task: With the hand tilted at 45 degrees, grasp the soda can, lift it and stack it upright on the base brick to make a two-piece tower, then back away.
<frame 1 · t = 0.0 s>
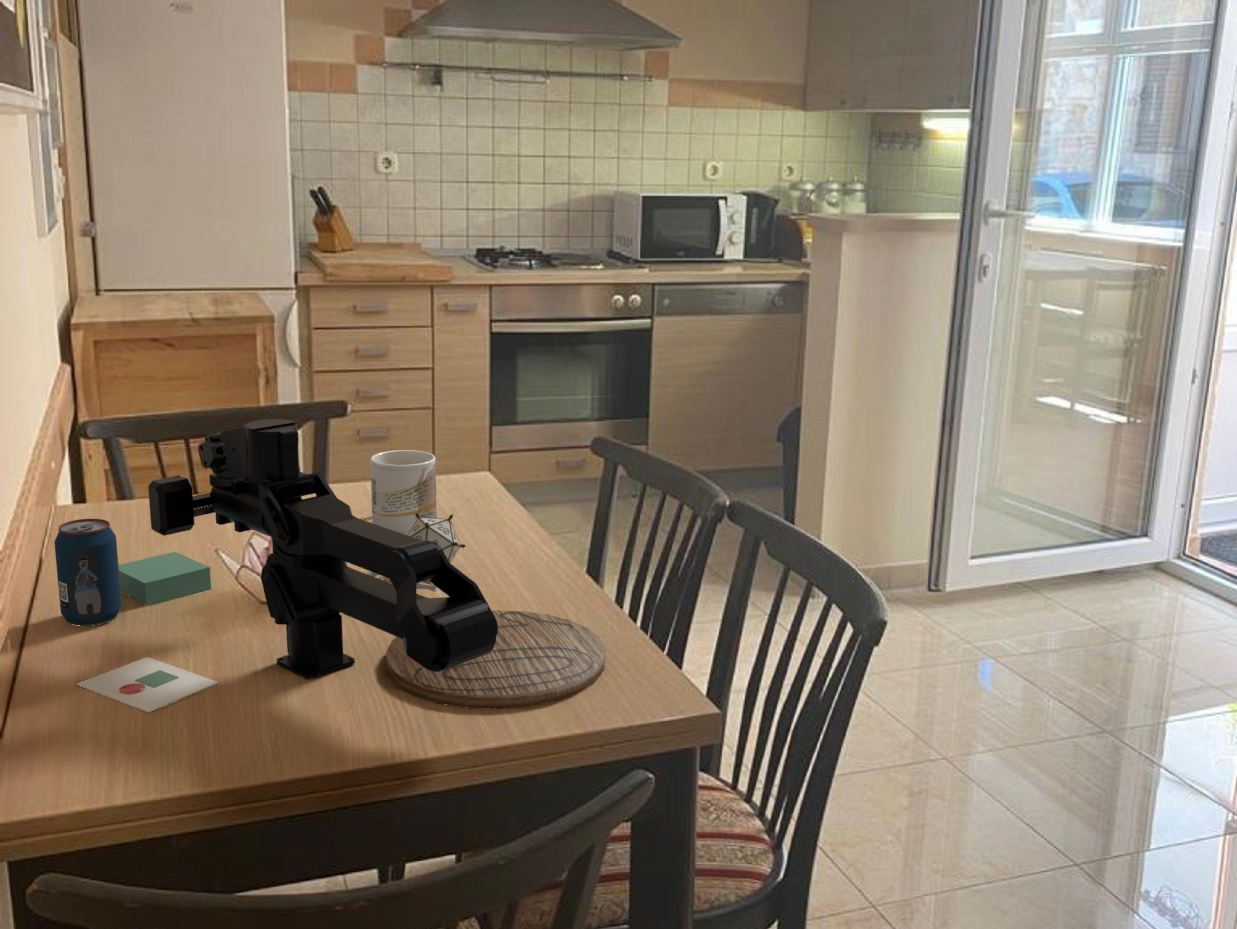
hand: (191, 481, 155), 17 cm above the table, tool horizontal, fingers open, 9 cm apart
mug: (405, 525, 195), on the table
soda can: (92, 619, 154), on the table
soldier figure: (389, 605, 162), on the table
instruction page: (148, 684, 136), on the table
game die: (432, 572, 174), on the table
base brick: (162, 588, 165), on the table
trivet: (496, 666, 144), on the table
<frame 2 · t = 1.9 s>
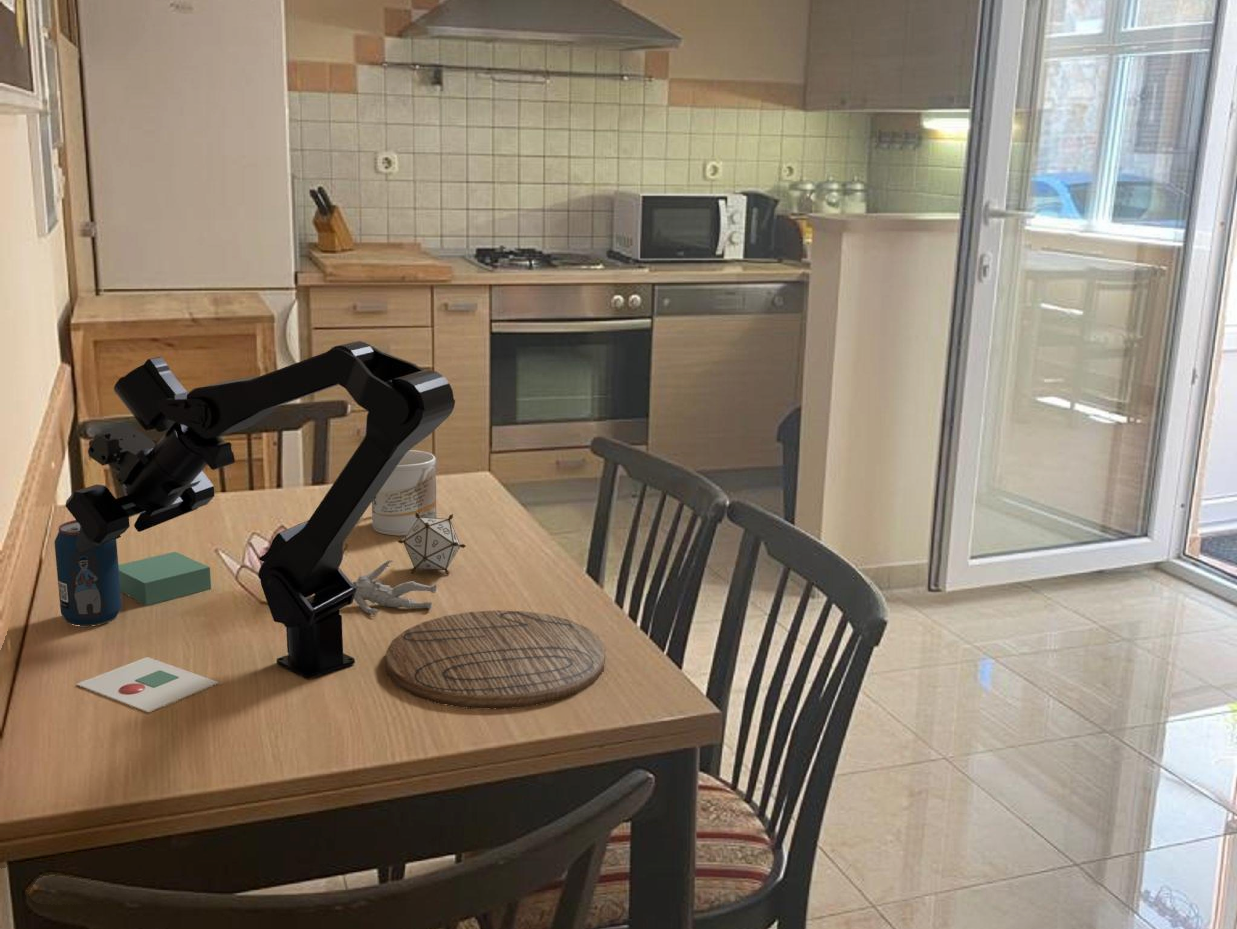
hand: (109, 538, 150), 11 cm above the table, tool tilted 45°, fingers open, 9 cm apart
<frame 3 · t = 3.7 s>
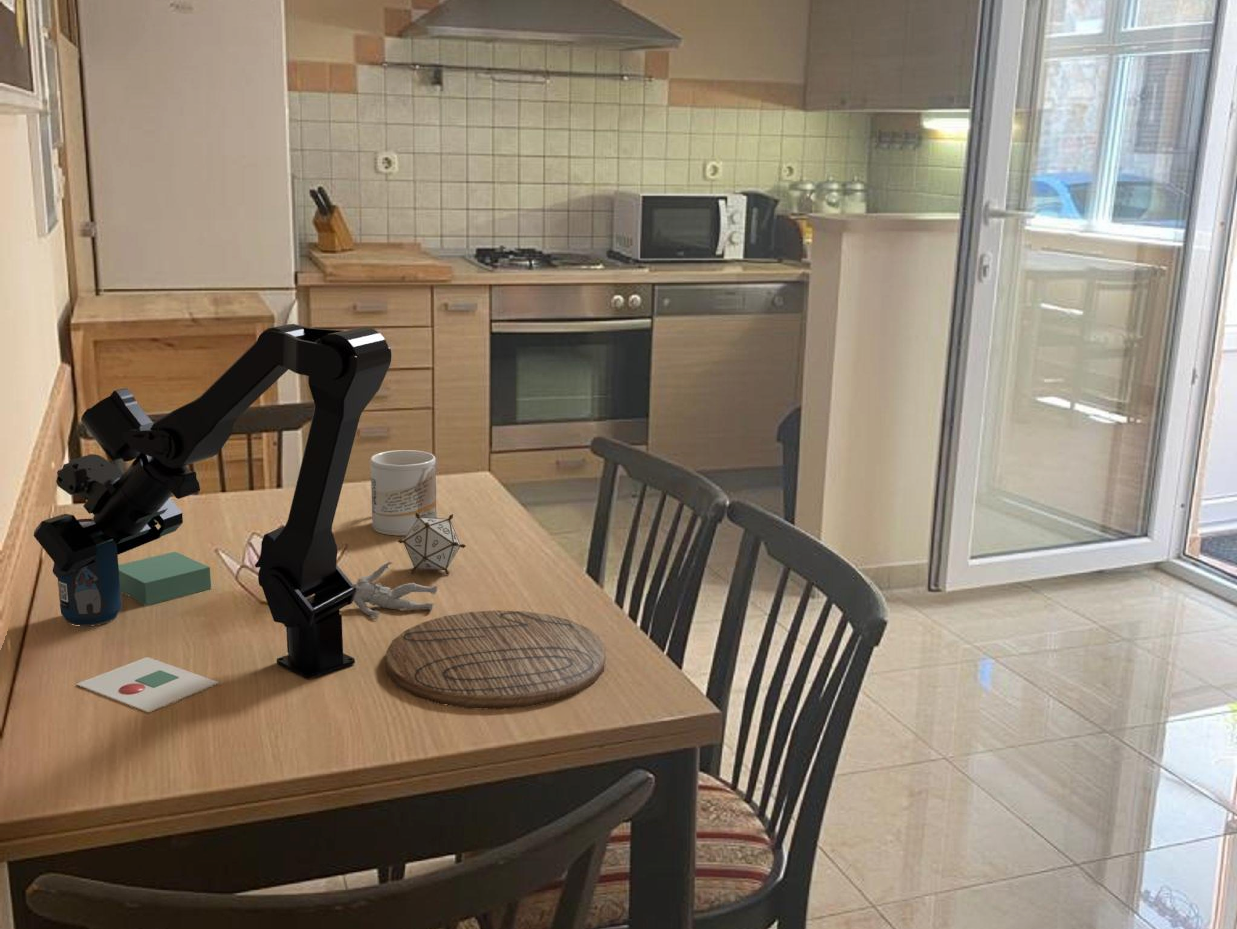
hand: (78, 565, 153), 7 cm above the table, tool tilted 45°, fingers closed on soda can, 7 cm apart
soda can: (92, 619, 154), on the table, touching gripper
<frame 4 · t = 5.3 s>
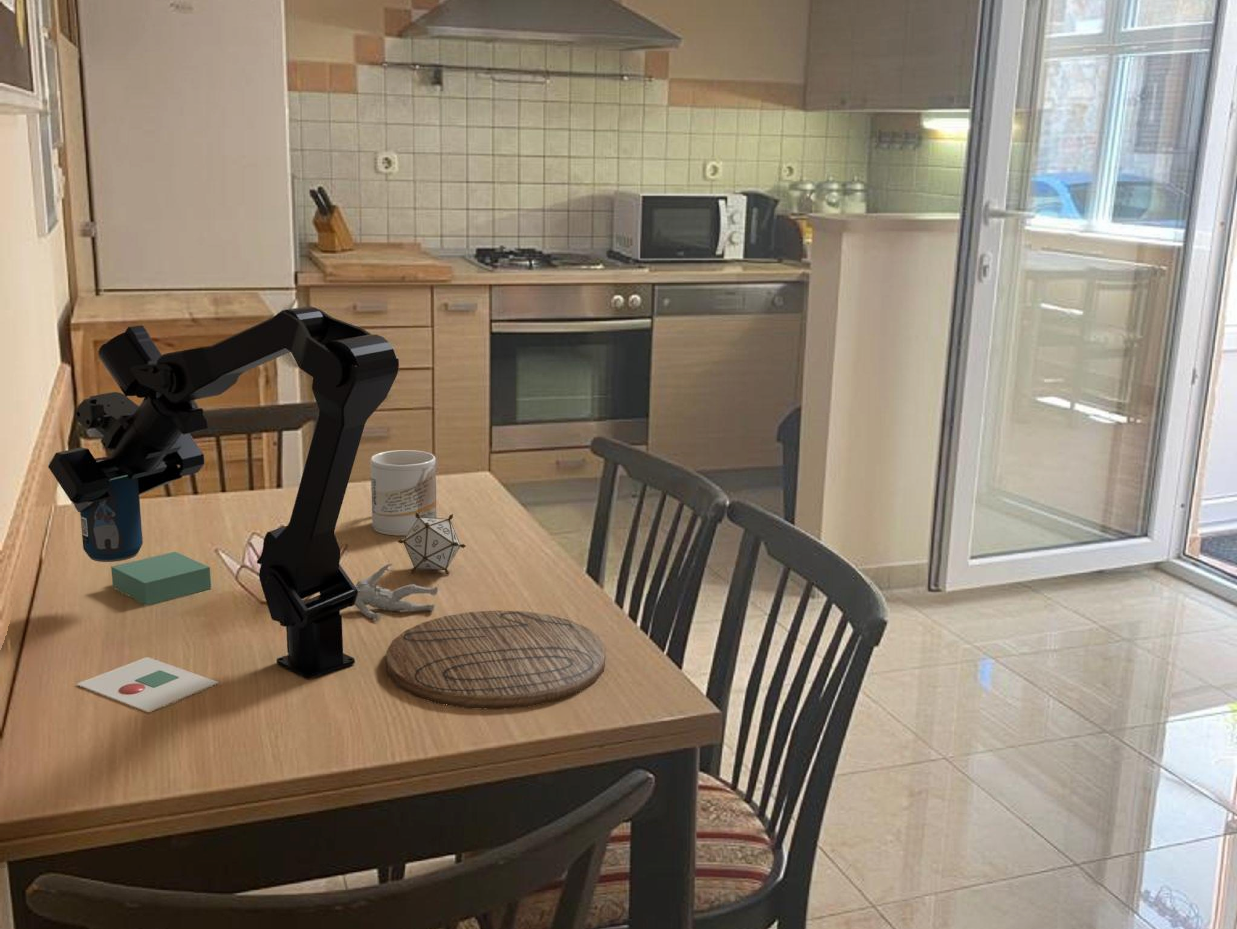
hand: (102, 502, 156), 13 cm above the table, tool tilted 45°, fingers closed on soda can, 7 cm apart
soda can: (114, 556, 157), point 7 cm above the table, touching gripper
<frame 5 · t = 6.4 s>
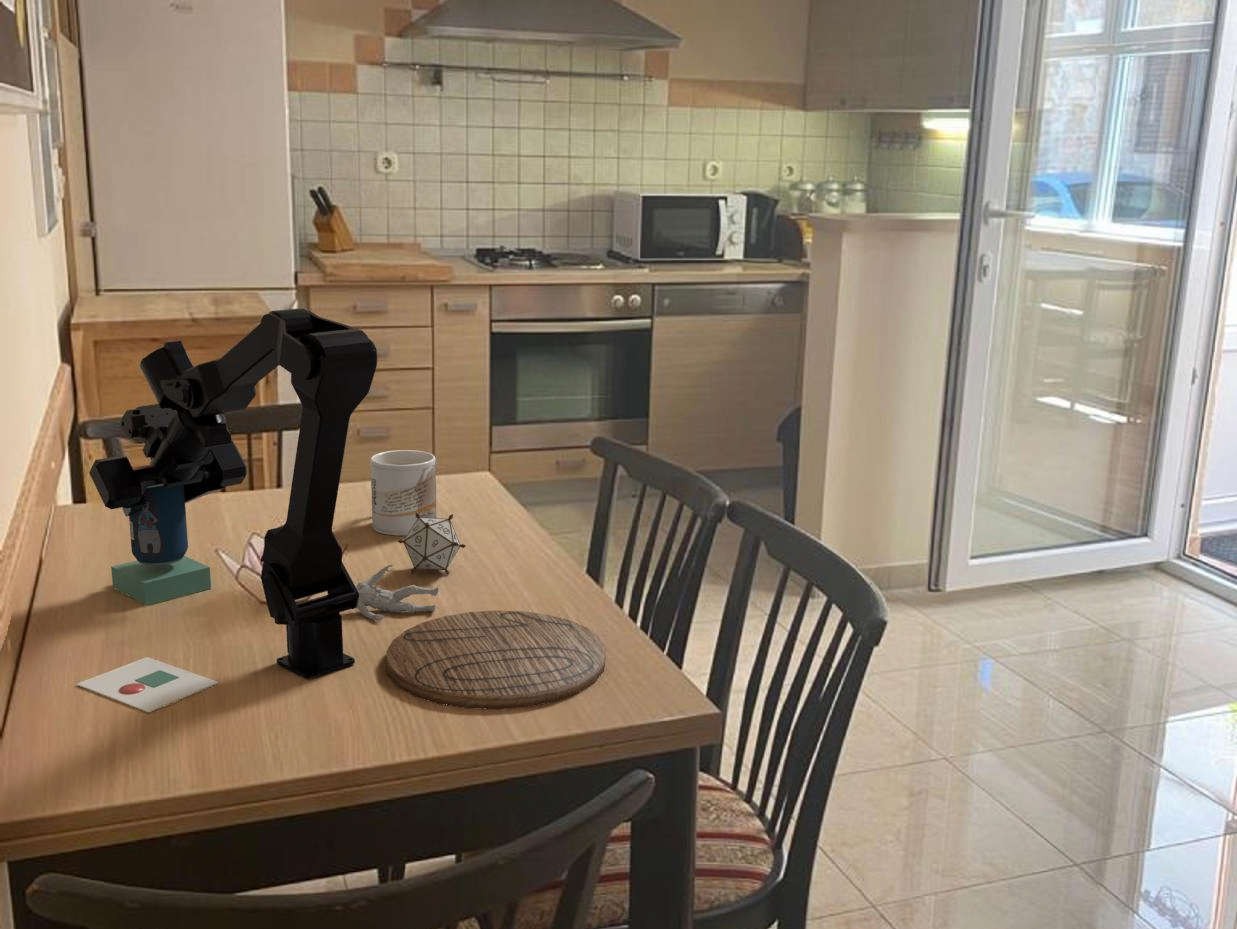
hand: (151, 507, 163), 11 cm above the table, tool tilted 45°, fingers closed on soda can, 7 cm apart
soda can: (160, 560, 164), point 4 cm above the table, touching gripper
when the fingers open (11 cm above the table, at t = 6.9 s): soda can stays where it is, resting on base brick.
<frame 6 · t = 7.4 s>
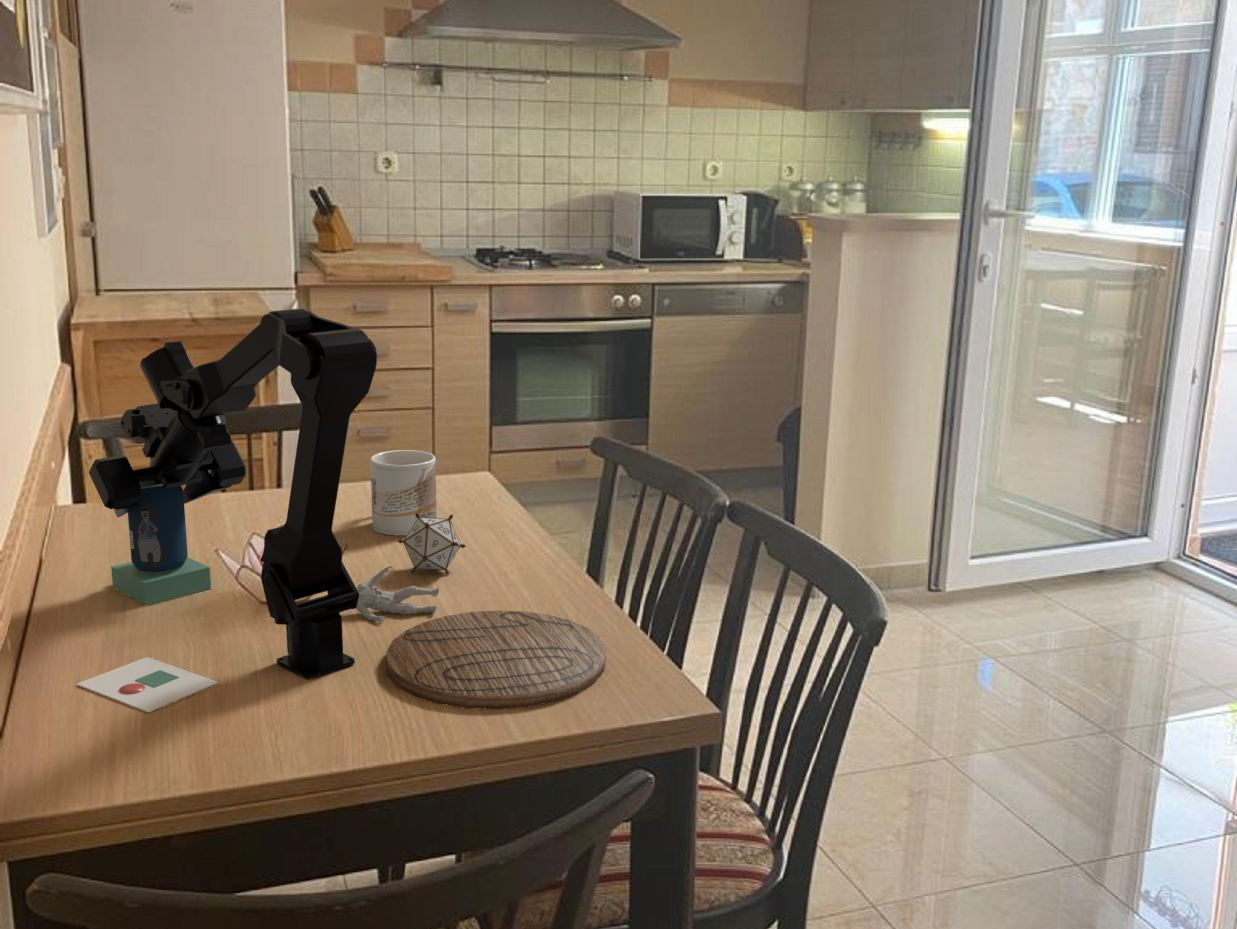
hand: (151, 507, 163), 11 cm above the table, tool tilted 45°, fingers open, 9 cm apart
soda can: (160, 568, 164), point 3 cm above the table, touching base brick
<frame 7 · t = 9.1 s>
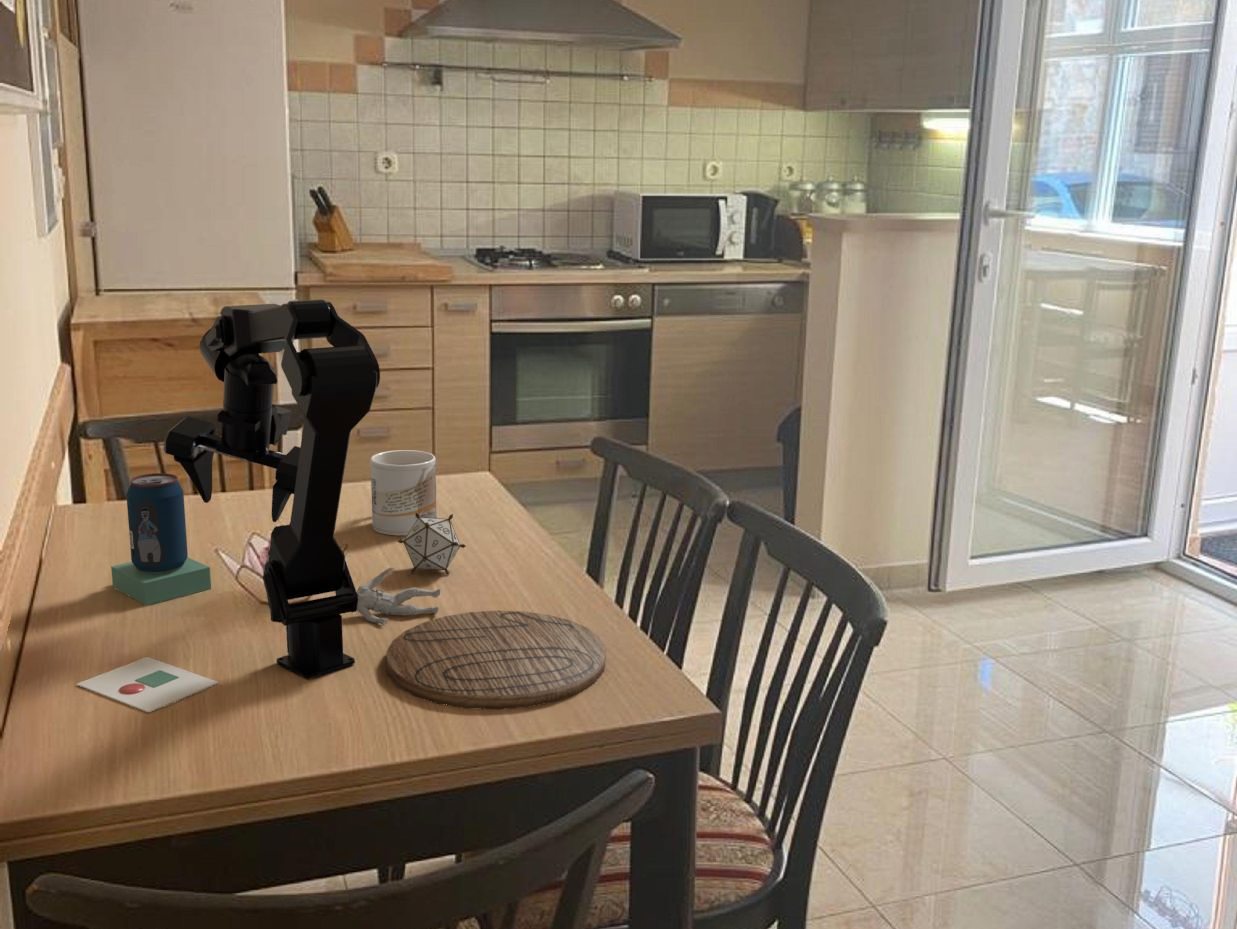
hand: (241, 510, 159), 12 cm above the table, tool tilted 20°, fingers open, 9 cm apart
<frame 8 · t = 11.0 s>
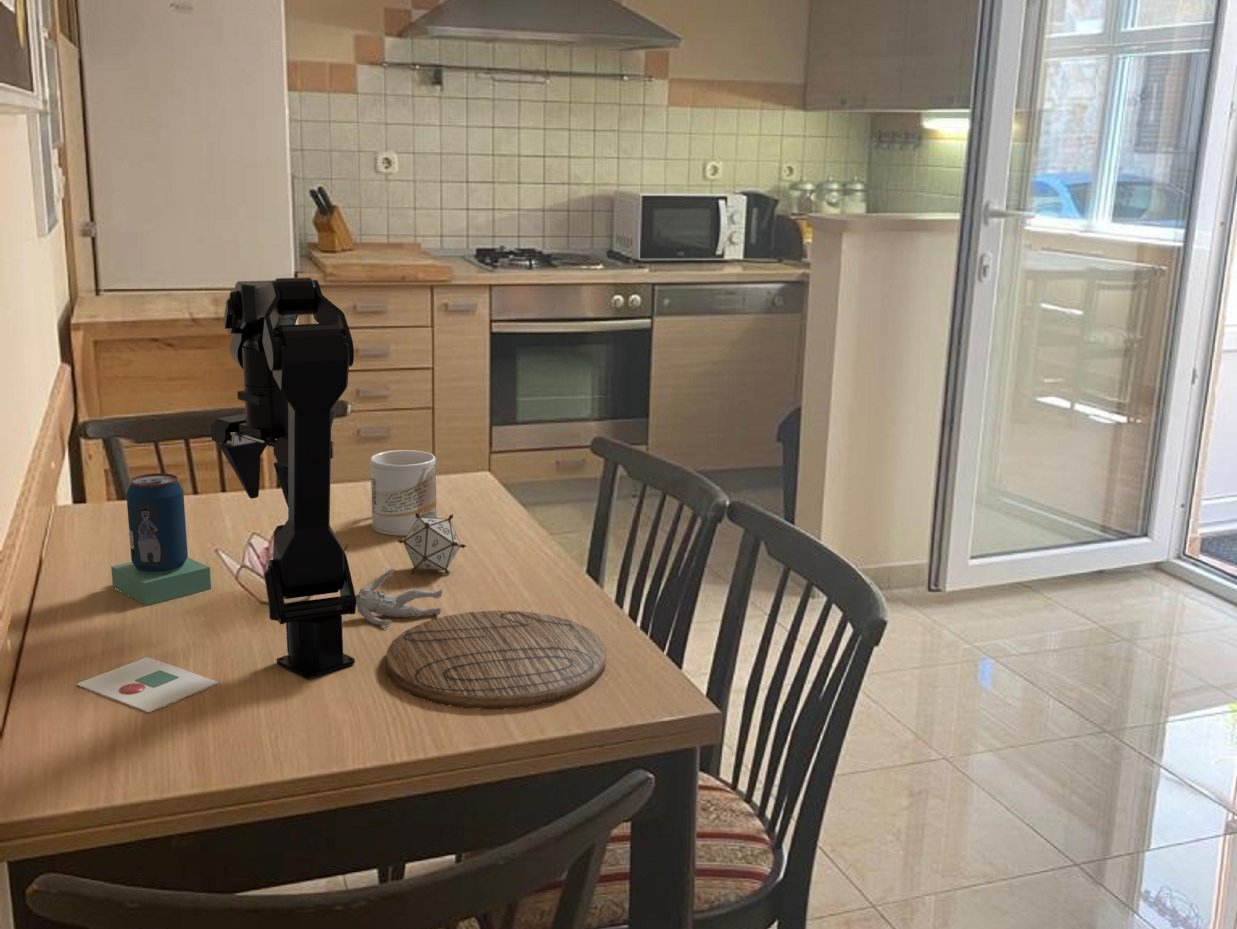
hand: (273, 505, 158), 13 cm above the table, tool pointing down, fingers open, 9 cm apart
at the end: soda can 0.2 cm from the base brick (horizontally); soda can touching base brick; soda can tilted 0° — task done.
